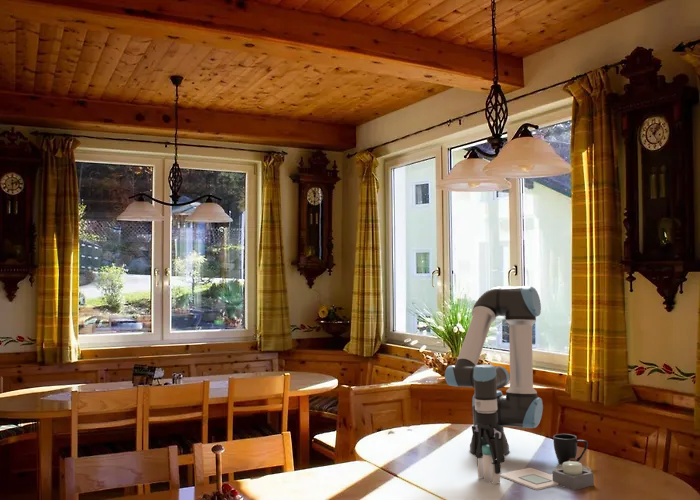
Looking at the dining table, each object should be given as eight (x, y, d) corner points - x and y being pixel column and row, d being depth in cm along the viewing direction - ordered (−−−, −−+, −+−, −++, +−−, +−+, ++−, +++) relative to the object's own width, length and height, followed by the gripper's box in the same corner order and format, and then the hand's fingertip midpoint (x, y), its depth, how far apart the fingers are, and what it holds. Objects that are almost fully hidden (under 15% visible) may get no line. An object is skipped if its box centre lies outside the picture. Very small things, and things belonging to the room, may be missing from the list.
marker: (481, 480, 220) (479, 445, 220) (490, 478, 221) (488, 444, 222) (488, 482, 216) (487, 448, 217) (497, 481, 218) (495, 446, 218)
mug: (584, 468, 228) (583, 441, 228) (551, 464, 235) (549, 437, 236) (591, 463, 235) (590, 436, 235) (559, 458, 242) (557, 432, 242)
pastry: (587, 479, 218) (586, 465, 218) (551, 474, 224) (550, 461, 224) (594, 469, 228) (594, 456, 228) (560, 465, 234) (559, 452, 235)
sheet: (499, 475, 223) (499, 473, 223) (530, 469, 230) (530, 467, 230) (536, 490, 207) (536, 487, 207) (568, 482, 214) (568, 480, 214)
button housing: (552, 482, 214) (552, 470, 214) (572, 478, 218) (572, 466, 218) (573, 490, 206) (573, 477, 206) (593, 485, 210) (593, 472, 210)
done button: (559, 475, 213) (558, 463, 214) (572, 472, 216) (571, 460, 216) (573, 480, 208) (572, 467, 208) (586, 477, 211) (585, 464, 211)
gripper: (459, 407, 227) (462, 474, 226) (496, 417, 209) (499, 489, 208) (476, 405, 230) (479, 471, 229) (514, 414, 213) (517, 485, 212)
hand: (489, 479), depth 219 cm, fingers open, 7 cm apart
